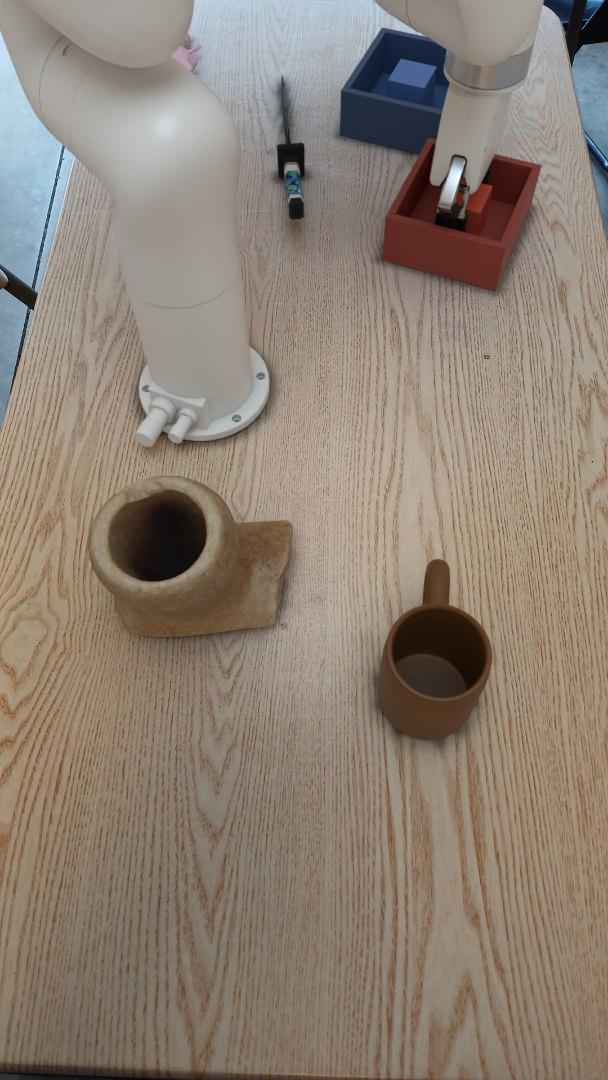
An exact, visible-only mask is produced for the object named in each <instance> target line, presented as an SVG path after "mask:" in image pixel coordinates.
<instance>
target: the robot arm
mask: <svg viewBox="0 0 608 1080" xmlns="http://www.w3.org/2000/svg"><path fill="white" fill-rule="evenodd" d="M373 1H374V2H375V3H376V4H377V6H378V7H379V8H381V9H382V10H383V11H384V12H385V13H387V14H388V15H389V16H392V17H393V18H395V19H396V20H398V21H399V22H400V23H402V24H404V25H406V26H407V27H409V28H410V29H411V30H414V31H415V32H417V33H419V34H421V35H422V36H425V37H428V38H429V39H431V40H432V41H434V42H436V43H437V44H439V45H440V46H442V47H443V48H445V49H446V55H445V62H444V74H445V76H446V78H447V80H448V81H449V82H450V84H449V87H448V91H447V94H446V98H445V102H444V106H443V111H442V115H441V120H440V125H439V130H438V135H437V141H436V146H435V152H434V157H433V163H432V169H431V174H430V182H431V184H432V185H436V186H440V184H441V183H442V182H443V180H444V179H445V180H444V184H443V188H442V192H441V196H440V200H439V204H438V208H437V211H436V218H435V225H439V226H442V227H446V228H450V229H454V230H457V231H461V232H465V230H466V225H467V220H468V215H467V214H466V210H467V206H468V203H469V199H470V195H471V194H473V193H474V192H476V191H477V190H478V188H479V186H480V184H481V183H482V184H486V185H488V181H489V176H490V171H491V166H490V163H491V161H492V159H493V157H494V155H495V154H497V151H498V148H499V145H500V143H501V141H502V138H503V133H504V130H505V126H506V122H507V119H508V114H509V109H510V103H511V100H512V99H511V98H512V94H513V92H514V91H517V90H518V89H519V88H520V87H521V86H523V85H524V84H525V83H526V80H527V78H528V73H529V70H530V69H529V68H530V64H531V61H532V55H533V50H534V47H535V46H534V45H535V41H536V37H537V32H538V29H539V23H540V19H541V16H542V11H543V6H544V3H545V0H373ZM194 5H195V0H0V35H1V37H2V40H3V42H4V45H5V47H6V50H7V53H8V55H9V58H10V61H11V63H12V67H13V68H14V71H15V74H16V76H17V79H18V81H19V84H20V86H21V88H22V90H23V92H24V95H25V97H26V99H27V102H28V103H29V106H30V107H31V109H32V112H33V113H34V114H35V116H36V118H37V120H39V122H40V123H41V124H42V126H43V127H44V128H45V129H46V130H47V131H48V132H49V133H50V134H51V135H52V136H53V137H54V138H55V140H57V141H58V142H59V143H60V145H62V146H63V147H64V148H65V149H66V150H67V151H68V152H69V153H70V154H71V155H72V156H74V157H75V158H76V159H77V160H78V161H79V162H80V163H81V164H82V165H83V166H84V168H85V169H86V170H87V171H88V172H89V173H90V174H91V175H93V177H95V178H96V180H97V181H99V182H100V183H101V185H102V186H103V187H104V188H105V189H106V191H107V192H108V194H109V196H110V197H111V199H112V201H113V203H114V205H115V208H116V212H117V219H118V220H117V226H116V229H115V248H116V253H117V260H118V263H119V267H120V271H121V274H122V277H123V278H122V279H123V281H124V284H125V287H126V291H127V294H128V299H129V302H130V305H131V310H132V312H133V317H134V319H135V320H134V321H135V324H136V327H137V328H136V329H137V331H138V335H139V339H140V342H141V346H142V350H143V354H144V357H145V360H146V364H145V366H144V367H143V370H142V372H141V375H140V378H139V383H138V395H139V397H138V398H139V400H140V404H141V407H142V409H143V412H144V413H145V415H146V416H145V418H144V419H143V421H142V422H141V424H140V425H139V427H138V428H137V430H136V431H135V433H134V434H133V437H134V439H135V440H136V441H137V443H139V444H140V445H142V446H144V447H146V448H151V447H154V445H155V443H156V441H157V440H158V438H159V437H160V435H161V434H162V433H163V432H164V433H166V434H167V438H168V440H170V441H171V442H173V443H175V444H182V442H183V440H185V441H193V442H205V441H206V442H207V441H208V442H209V441H215V440H219V439H223V438H226V437H230V436H232V435H235V434H236V433H239V432H240V431H242V430H244V429H246V428H247V427H248V426H249V425H250V424H252V423H253V422H254V421H255V420H256V419H257V418H258V417H259V416H260V415H261V413H262V412H263V410H264V408H265V407H266V404H267V403H268V400H269V396H270V389H271V388H270V386H271V381H270V374H269V371H268V367H267V364H266V362H265V361H264V359H263V358H262V356H261V355H260V353H258V351H256V349H255V348H254V347H252V346H251V345H250V339H249V337H250V336H249V329H248V328H249V327H248V319H247V318H248V317H247V309H246V303H245V302H246V301H245V293H244V291H245V290H244V283H243V274H242V266H241V265H242V264H241V259H240V250H239V238H238V227H237V196H238V187H239V180H240V173H241V163H242V147H241V139H240V134H239V131H238V128H237V125H236V123H235V120H234V118H233V116H232V115H231V113H230V111H229V110H228V108H227V107H226V105H225V103H223V101H222V100H221V99H220V98H219V96H218V95H217V93H215V92H214V90H212V88H210V87H209V85H207V84H206V82H204V81H203V80H202V79H201V78H199V76H197V75H196V74H195V73H194V72H193V71H192V72H191V71H190V70H188V69H187V68H186V67H185V66H183V65H182V64H181V63H179V62H178V61H177V60H176V59H174V58H173V57H172V55H173V54H174V53H175V52H176V51H177V50H178V48H179V47H180V45H181V44H182V42H183V41H184V39H185V37H186V35H187V33H188V32H189V30H190V27H191V24H192V20H193V15H194V9H195V6H194ZM188 34H189V33H188ZM462 178H463V179H466V183H467V185H468V186H467V185H463V184H460V183H461V180H462ZM458 192H461V193H464V195H463V199H462V203H461V206H460V205H459V204H457V203H456V196H457V193H458Z"/></svg>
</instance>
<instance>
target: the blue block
mask: <svg viewBox="0 0 608 1080" xmlns="http://www.w3.org/2000/svg"><path fill="white" fill-rule="evenodd" d="M436 69H437V67H436V66H431V65H427V64H422V63H418V62H413V61H409V60H404V59H400V61H399V63H398V64H397V66H396V68H395V69H394V71H393V72H392V74H391V76H390V77H389V79H388V87H387V97H389V98H394V99H398V100H402V101H406V102H411V103H415V104H419V105H423V106H428V107H430V106H431V104H432V102H433V94H434V86H435V78H436Z"/></svg>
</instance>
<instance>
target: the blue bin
mask: <svg viewBox="0 0 608 1080" xmlns="http://www.w3.org/2000/svg"><path fill="white" fill-rule="evenodd" d="M445 55H446V49H445V48H443V47H442V46H440V45H439V44H437V43H436V42H434V41H432V40H431V39H429V38H428V37H426V36H424V35H420V34H415V33H410V32H407V31H401V30H397V29H391V28H389V27H388V28H387V27H381V28H380V30H379V31H378V33H377V34H376V36H375V38H374V39H373V41H372V42H371V44H370V45H369V47H368V48H367V49H366V51H365V52H364V54H363V56H362V57H361V59H360V61H358V63H357V65H356V66H355V68H354V70H353V71H352V73H351V74H350V76H349V77H348V79H347V80H346V82H345V83H344V85H343V87H342V88H341V90H340V115H339V116H340V117H339V119H340V120H339V126H340V127H339V136H342V137H346V138H350V139H354V140H358V141H361V142H367V143H369V144H374V145H378V146H383V147H387V148H391V149H395V150H398V151H403V152H407V153H411V154H416V155H419V154H420V152H421V151H422V149H423V147H424V145H425V143H426V141H427V139H428V138H431V139H435V140H437V135H438V130H439V125H440V120H441V115H442V111H443V106H444V102H445V98H446V94H447V91H448V87H449V84H450V82H449V81H448V80H447V78H446V76H445V74H444V62H445ZM400 59H404V60H409V61H413V62H418V63H422V64H427V65H431V66H436V67H437V69H436V78H435V86H434V94H433V102H432V104H431V106H430V107H428V106H423V105H419V104H415V103H411V102H406V101H402V100H398V99H394V98H389V97H387V87H388V79H389V77H390V76H391V74H392V72H393V71H394V69H395V68H396V66H397V64H398V63H399V61H400Z"/></svg>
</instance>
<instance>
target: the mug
mask: <svg viewBox="0 0 608 1080" xmlns="http://www.w3.org/2000/svg"><path fill="white" fill-rule="evenodd" d="M450 593H451V570H450V565H449V563H448V562H447V561H445V560H444V559H441V558H435V559H432V560H430V561H429V562H428V564H426V568H425V573H424V578H423V586H422V603H421V605H418V606H414V607H412V608H411V609H409V610H407V611H405V612H404V613H403V614H402V615H400V616H399V617H398V618H397V620H396V621H394V623H393V625H392V627H391V628H390V629H389V632H388V635H387V638H386V640H385V642H384V646H383V649H382V654H381V660H380V665H379V666H380V667H379V674H378V679H377V698H378V702H379V705H380V708H381V710H382V713H383V714H384V716H385V717H386V719H387V720H388V722H389V723H390V724H391V725H392V726H393V727H394V728H395V729H397V730H398V731H399V732H401V733H402V734H404V735H406V736H409V737H411V738H414V739H419V740H427V741H429V740H439V739H442V738H445V737H448V736H450V735H452V734H454V733H455V732H457V731H458V730H460V728H461V727H463V725H464V724H465V723H466V722H467V720H468V719H469V718H470V716H471V715H472V712H473V711H474V709H475V707H476V705H477V703H478V701H479V699H480V697H481V696H482V693H483V692H484V690H485V688H486V685H487V682H488V681H489V678H490V672H491V669H492V665H493V647H492V643H491V640H490V638H489V636H488V634H487V632H486V631H485V628H483V626H482V624H480V623H479V621H478V620H477V619H476V618H474V617H473V616H472V615H471V614H469V613H468V612H466V611H465V610H463V609H461V608H458V607H456V606H454V605H450Z"/></svg>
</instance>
